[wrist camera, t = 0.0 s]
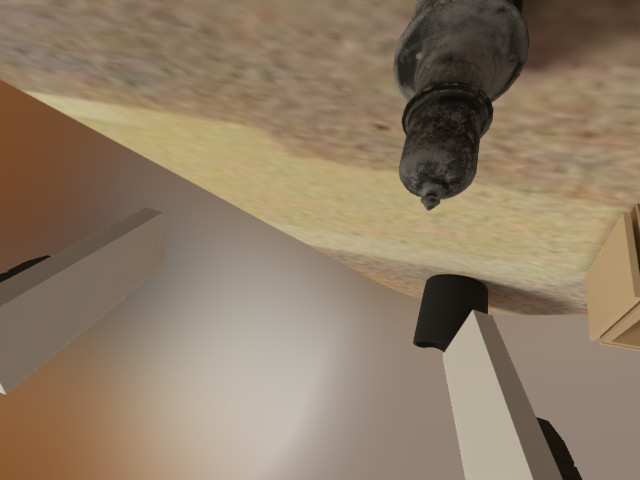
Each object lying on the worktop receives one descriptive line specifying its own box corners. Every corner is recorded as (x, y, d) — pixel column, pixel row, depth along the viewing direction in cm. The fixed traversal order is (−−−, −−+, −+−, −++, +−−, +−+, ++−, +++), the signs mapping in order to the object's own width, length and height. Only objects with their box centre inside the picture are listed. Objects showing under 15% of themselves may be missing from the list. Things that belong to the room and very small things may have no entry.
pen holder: (442, 296, 52) (434, 355, 48) (412, 273, 47) (400, 337, 43) (501, 297, 45) (498, 366, 41) (473, 270, 40) (466, 346, 36)
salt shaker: (545, 35, 15) (549, 239, 10) (436, 91, 20) (402, 253, 15) (504, -89, 12) (482, 120, 7) (384, 11, 16) (320, 183, 12)
